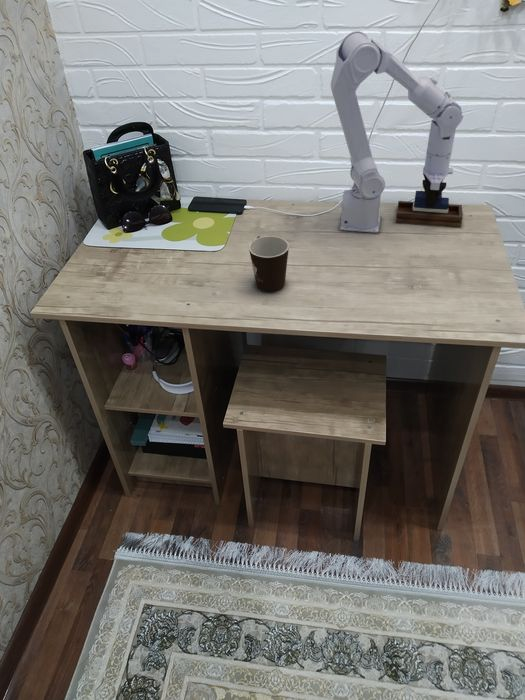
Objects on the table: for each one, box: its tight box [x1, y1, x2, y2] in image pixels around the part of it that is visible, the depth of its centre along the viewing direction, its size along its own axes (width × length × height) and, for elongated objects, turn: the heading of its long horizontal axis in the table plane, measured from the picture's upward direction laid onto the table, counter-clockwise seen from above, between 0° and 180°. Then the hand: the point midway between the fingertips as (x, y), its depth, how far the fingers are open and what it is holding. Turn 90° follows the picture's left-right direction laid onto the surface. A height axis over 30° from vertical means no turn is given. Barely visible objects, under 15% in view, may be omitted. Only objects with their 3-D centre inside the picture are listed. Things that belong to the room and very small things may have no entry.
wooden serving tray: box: [395, 200, 463, 229], centre depth 147 cm, size 16×8×2 cm, turn 77°
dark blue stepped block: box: [412, 190, 450, 213], centre depth 145 cm, size 9×4×4 cm, turn 77°
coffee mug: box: [248, 235, 290, 294], centre depth 127 cm, size 12×9×10 cm
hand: (430, 203), depth 145 cm, fingers closed on dark blue stepped block, 3 cm apart
